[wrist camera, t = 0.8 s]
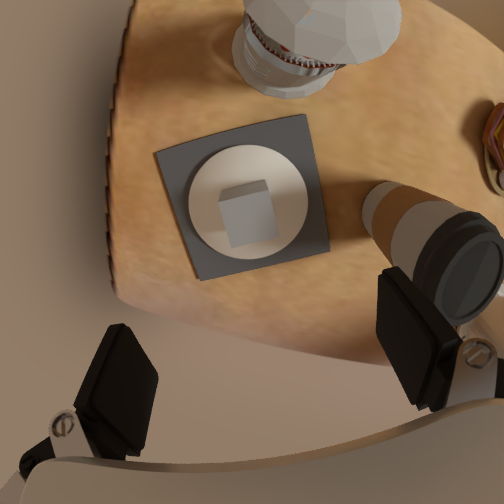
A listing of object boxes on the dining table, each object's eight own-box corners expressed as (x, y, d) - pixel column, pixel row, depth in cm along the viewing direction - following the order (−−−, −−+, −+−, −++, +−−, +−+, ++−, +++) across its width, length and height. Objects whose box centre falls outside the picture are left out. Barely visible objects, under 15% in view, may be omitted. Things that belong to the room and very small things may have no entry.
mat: (329, 249, 30) (330, 251, 30) (200, 278, 31) (200, 281, 31) (304, 114, 24) (305, 114, 24) (157, 152, 25) (155, 152, 25)
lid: (314, 241, 29) (326, 264, 25) (209, 266, 30) (204, 292, 26) (293, 132, 24) (304, 135, 20) (175, 162, 25) (161, 172, 21)
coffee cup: (340, 237, 30) (406, 331, 16) (364, 160, 26) (463, 208, 13) (402, 251, 30) (477, 332, 17) (426, 183, 27) (525, 238, 14)
